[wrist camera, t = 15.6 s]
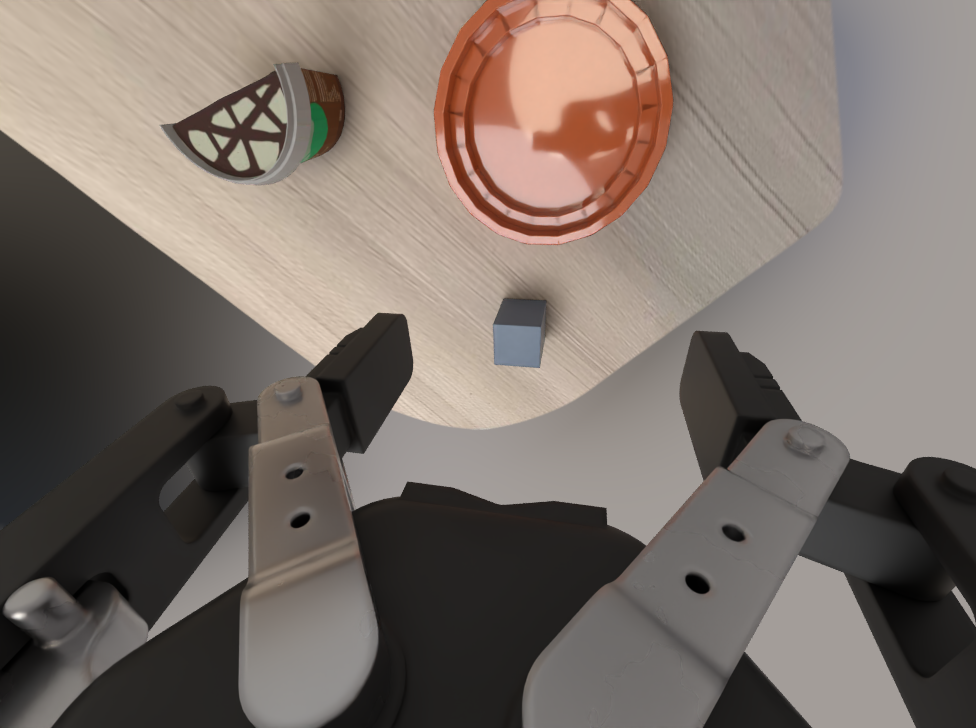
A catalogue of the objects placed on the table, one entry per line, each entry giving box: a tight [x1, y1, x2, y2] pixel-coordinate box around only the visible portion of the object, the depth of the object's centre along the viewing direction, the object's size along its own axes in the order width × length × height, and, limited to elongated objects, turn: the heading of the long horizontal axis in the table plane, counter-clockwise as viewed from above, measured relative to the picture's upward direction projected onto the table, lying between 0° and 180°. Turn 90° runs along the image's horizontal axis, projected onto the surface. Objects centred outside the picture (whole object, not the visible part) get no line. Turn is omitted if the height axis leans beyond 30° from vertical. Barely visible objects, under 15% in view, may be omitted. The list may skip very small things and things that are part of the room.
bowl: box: [434, 0, 673, 245], centre depth 33 cm, size 18×18×4 cm
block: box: [493, 299, 546, 368], centre depth 43 cm, size 4×4×6 cm
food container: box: [159, 63, 345, 185], centre depth 35 cm, size 12×6×10 cm, turn 109°
